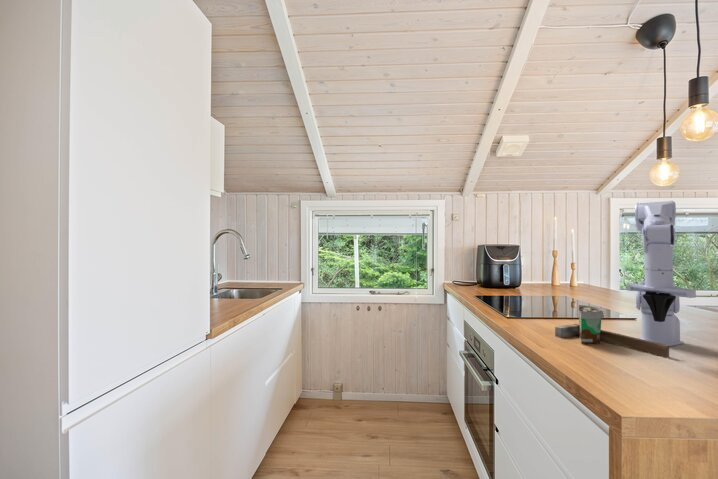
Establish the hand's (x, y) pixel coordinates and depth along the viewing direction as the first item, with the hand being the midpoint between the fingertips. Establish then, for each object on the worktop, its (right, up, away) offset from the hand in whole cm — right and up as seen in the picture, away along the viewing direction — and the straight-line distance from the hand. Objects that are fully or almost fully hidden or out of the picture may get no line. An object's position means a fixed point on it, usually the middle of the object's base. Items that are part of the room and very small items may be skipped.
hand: (659, 321), depth 91 cm
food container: (-8, -10, +14) cm, 19 cm away
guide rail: (-7, -10, +10) cm, 15 cm away
